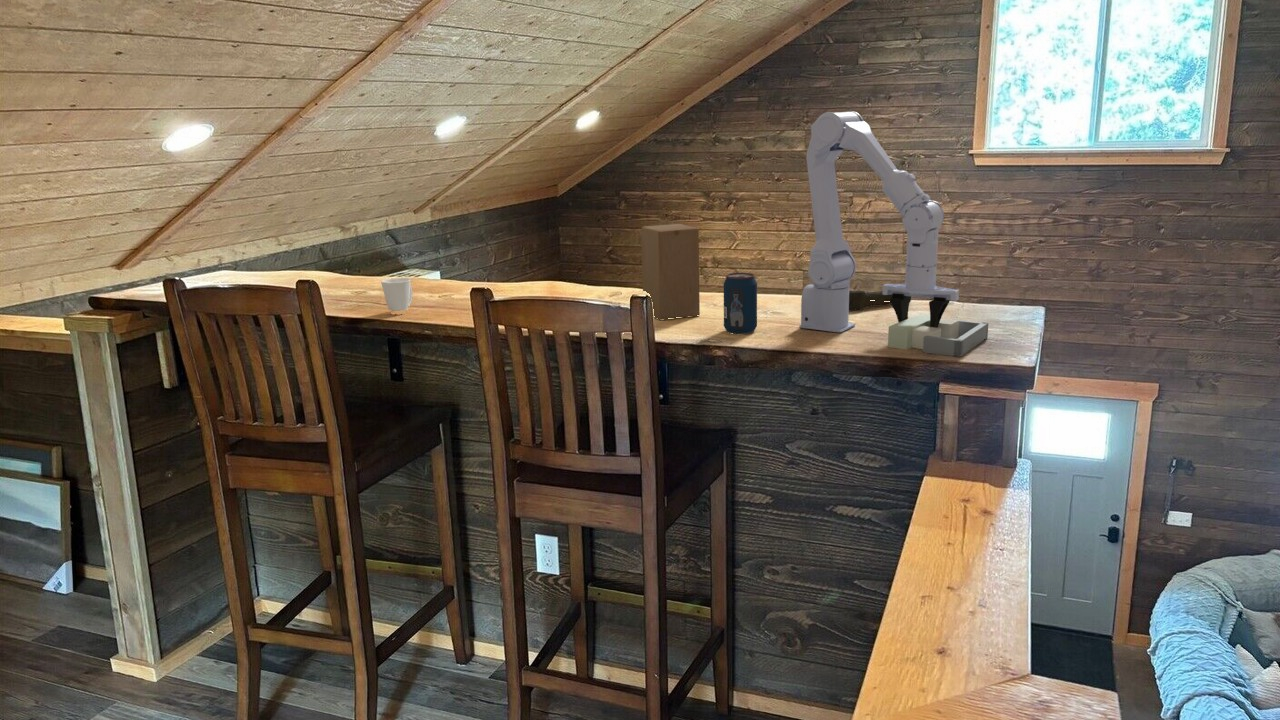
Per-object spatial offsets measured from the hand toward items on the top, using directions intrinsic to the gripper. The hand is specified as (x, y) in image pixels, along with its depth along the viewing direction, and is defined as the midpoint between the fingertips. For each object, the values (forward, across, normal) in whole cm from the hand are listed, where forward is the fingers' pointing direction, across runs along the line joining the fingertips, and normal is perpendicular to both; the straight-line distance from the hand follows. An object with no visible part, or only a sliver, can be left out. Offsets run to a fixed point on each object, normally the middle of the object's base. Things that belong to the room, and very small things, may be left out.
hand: (918, 333), depth 189 cm
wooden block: (+2, -56, -3) cm, 57 cm away
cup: (+2, -115, -31) cm, 120 cm away
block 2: (+1, +4, +4) cm, 6 cm away
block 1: (+1, +3, -4) cm, 5 cm away
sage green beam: (+2, -1, -1) cm, 2 cm away
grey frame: (+1, +8, 0) cm, 8 cm away
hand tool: (+2, -19, +26) cm, 32 cm away
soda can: (+2, -34, -10) cm, 36 cm away
